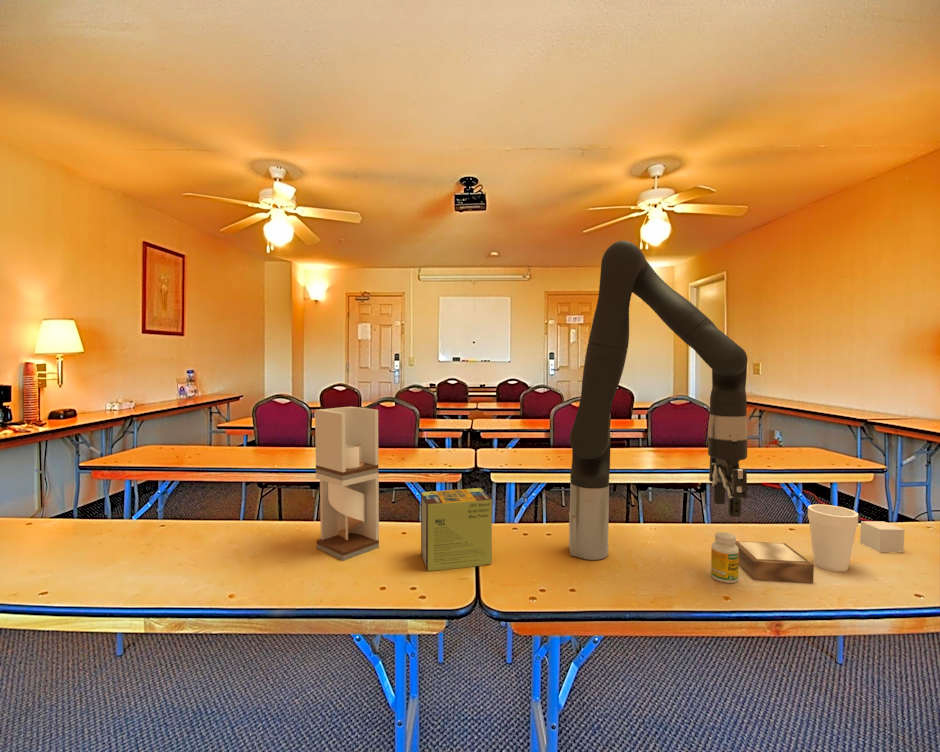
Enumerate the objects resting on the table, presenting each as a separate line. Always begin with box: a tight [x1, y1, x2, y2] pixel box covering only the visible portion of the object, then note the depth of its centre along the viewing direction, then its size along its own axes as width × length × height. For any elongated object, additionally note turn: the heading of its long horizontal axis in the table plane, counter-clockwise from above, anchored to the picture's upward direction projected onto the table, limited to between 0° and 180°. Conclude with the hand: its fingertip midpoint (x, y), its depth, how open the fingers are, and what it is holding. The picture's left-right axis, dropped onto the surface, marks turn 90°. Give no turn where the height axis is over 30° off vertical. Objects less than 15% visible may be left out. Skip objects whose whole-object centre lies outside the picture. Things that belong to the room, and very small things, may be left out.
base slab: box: [735, 540, 815, 584], centre depth 111 cm, size 12×12×4 cm
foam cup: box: [807, 503, 859, 573], centre depth 113 cm, size 10×9×13 cm
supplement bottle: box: [710, 531, 740, 584], centre depth 107 cm, size 5×5×10 cm
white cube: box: [859, 520, 905, 553], centre depth 124 cm, size 6×6×6 cm
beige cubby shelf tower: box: [314, 406, 380, 562], centre depth 123 cm, size 11×11×35 cm
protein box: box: [420, 487, 493, 572], centre depth 117 cm, size 10×15×16 cm
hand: (726, 509), depth 106 cm, fingers open, 8 cm apart
